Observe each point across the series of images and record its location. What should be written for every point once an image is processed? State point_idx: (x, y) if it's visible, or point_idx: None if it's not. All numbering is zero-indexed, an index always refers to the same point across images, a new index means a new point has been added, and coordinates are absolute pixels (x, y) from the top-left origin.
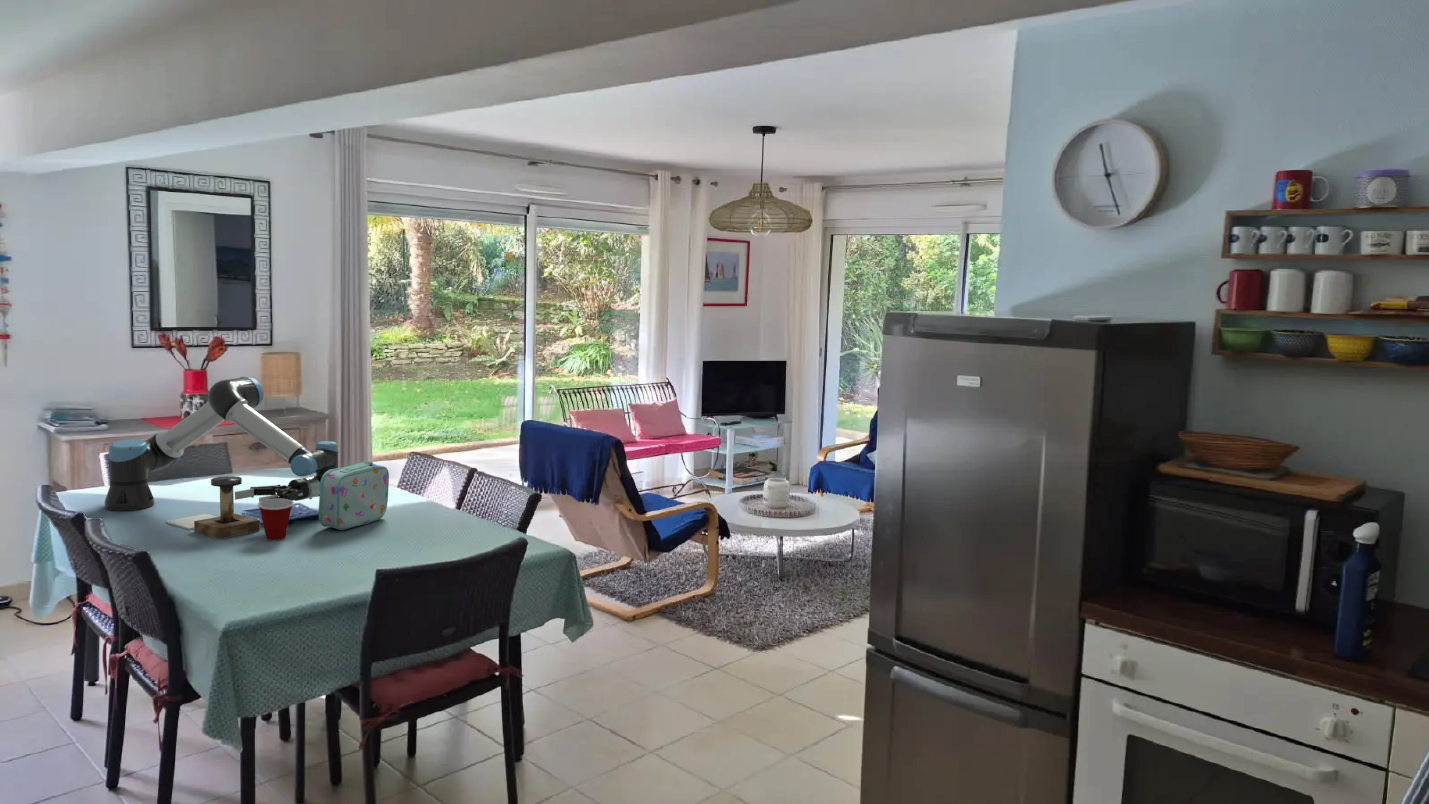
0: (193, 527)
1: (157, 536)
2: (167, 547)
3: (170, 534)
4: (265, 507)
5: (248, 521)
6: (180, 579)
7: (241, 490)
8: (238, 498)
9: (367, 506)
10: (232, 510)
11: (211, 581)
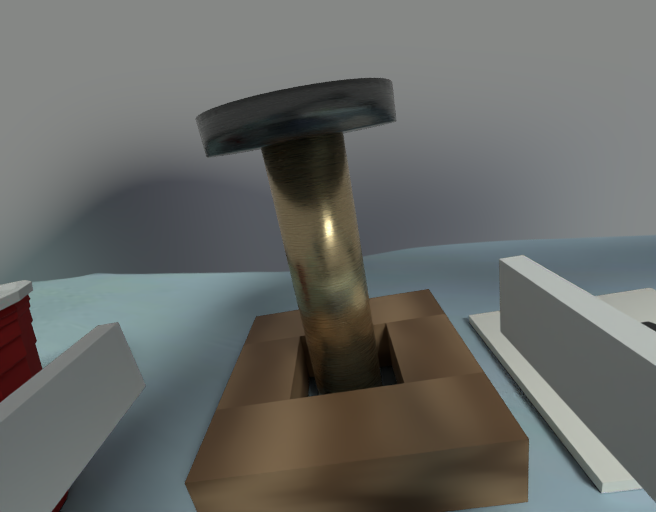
0: (476, 324)
1: (431, 274)
2: None
3: (435, 289)
4: (5, 347)
5: (234, 419)
6: (128, 277)
7: (571, 285)
8: (514, 338)
9: None
10: (301, 314)
11: (68, 295)
